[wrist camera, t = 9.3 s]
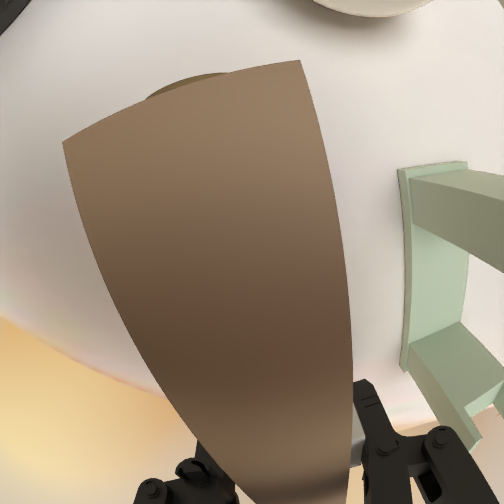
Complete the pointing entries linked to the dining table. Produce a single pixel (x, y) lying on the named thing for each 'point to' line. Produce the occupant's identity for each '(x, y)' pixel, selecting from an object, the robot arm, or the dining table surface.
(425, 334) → the rack
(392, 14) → the lidded jar
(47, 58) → the dining table surface
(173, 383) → the rail
